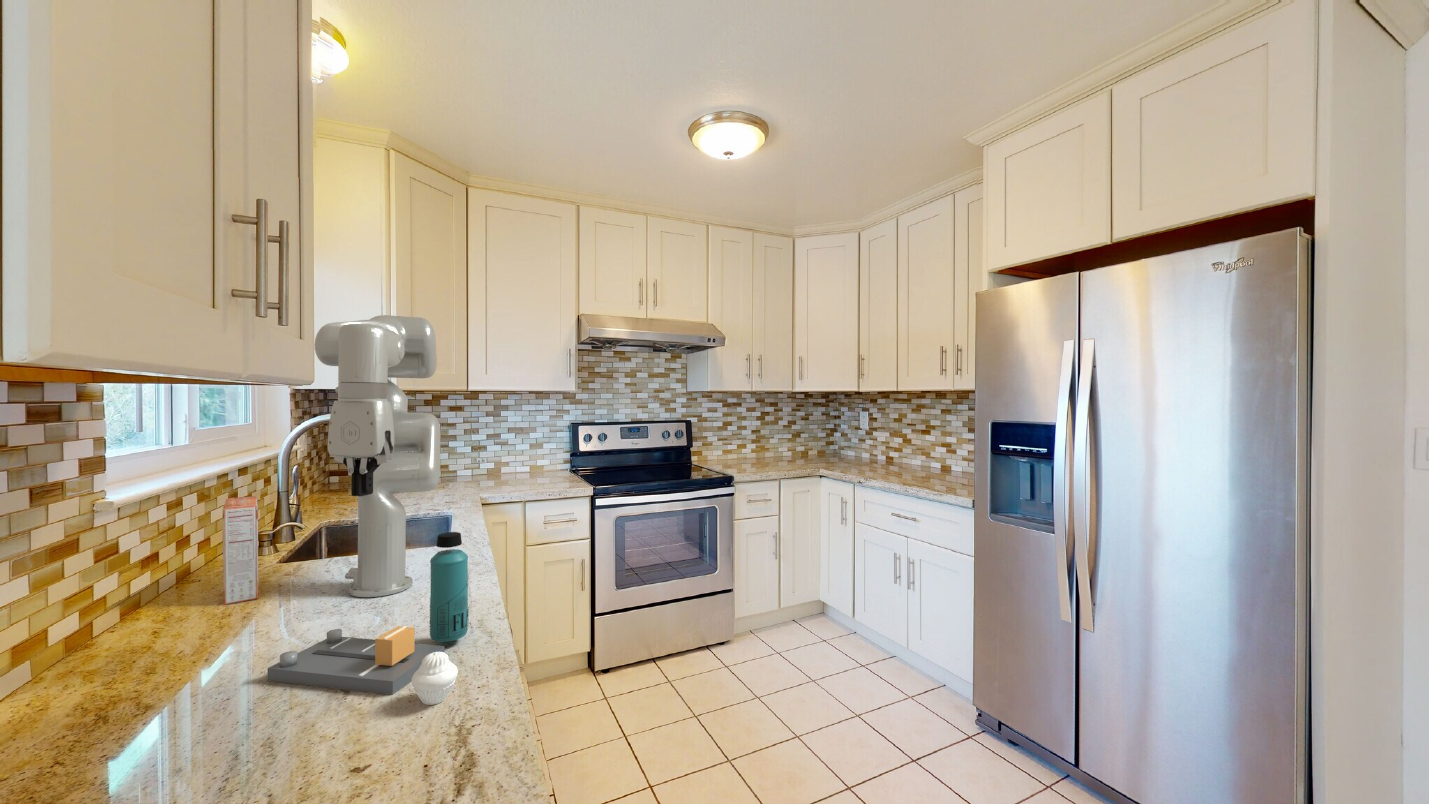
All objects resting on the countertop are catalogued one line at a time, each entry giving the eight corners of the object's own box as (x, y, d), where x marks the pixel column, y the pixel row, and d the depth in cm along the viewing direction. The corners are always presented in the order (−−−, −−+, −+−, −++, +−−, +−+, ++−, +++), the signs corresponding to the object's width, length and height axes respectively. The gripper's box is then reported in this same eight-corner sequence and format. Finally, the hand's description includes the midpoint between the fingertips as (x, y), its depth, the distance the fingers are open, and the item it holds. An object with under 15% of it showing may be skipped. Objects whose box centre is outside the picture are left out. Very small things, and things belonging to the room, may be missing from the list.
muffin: (404, 699, 81) (405, 652, 81) (447, 684, 86) (447, 639, 86) (421, 716, 77) (421, 666, 77) (464, 698, 82) (465, 651, 82)
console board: (267, 680, 86) (267, 657, 86) (332, 646, 98) (332, 626, 98) (392, 694, 82) (392, 670, 82) (444, 657, 94) (444, 636, 94)
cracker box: (223, 588, 127) (224, 497, 127) (257, 582, 131) (258, 495, 131) (221, 606, 116) (222, 507, 116) (258, 599, 120) (259, 504, 120)
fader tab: (375, 664, 87) (375, 637, 87) (398, 649, 92) (398, 624, 92) (392, 665, 86) (392, 639, 86) (414, 651, 91) (414, 626, 91)
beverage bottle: (453, 652, 96) (454, 538, 96) (419, 648, 98) (420, 536, 97) (476, 637, 103) (477, 530, 102) (445, 633, 104) (445, 528, 104)
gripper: (308, 392, 96) (308, 496, 97) (384, 393, 94) (383, 500, 94) (344, 393, 104) (343, 490, 104) (415, 394, 101) (414, 493, 102)
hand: (362, 494), depth 99 cm, fingers closed
